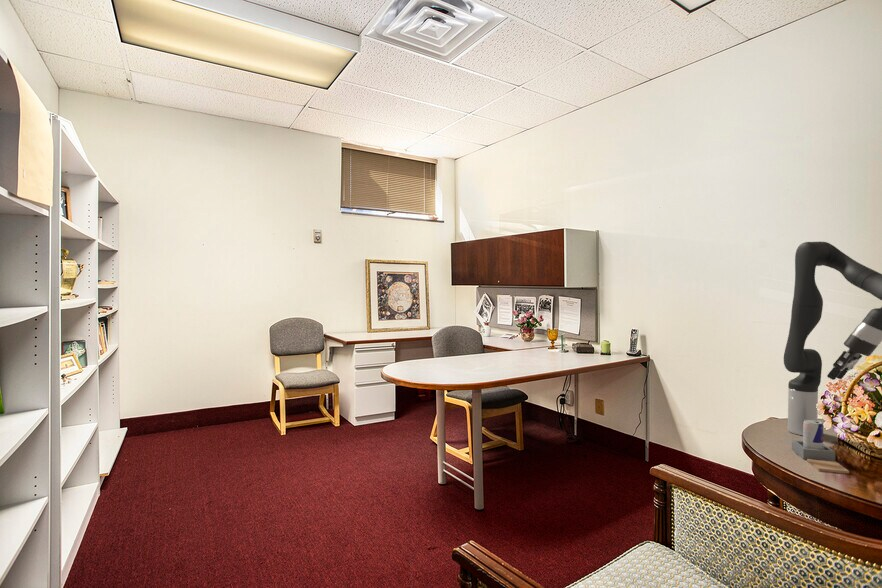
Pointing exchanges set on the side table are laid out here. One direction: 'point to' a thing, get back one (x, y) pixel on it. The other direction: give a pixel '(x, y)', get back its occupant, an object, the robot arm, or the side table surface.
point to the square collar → (813, 452)
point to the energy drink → (812, 434)
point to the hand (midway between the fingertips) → (833, 378)
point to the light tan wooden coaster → (827, 466)
